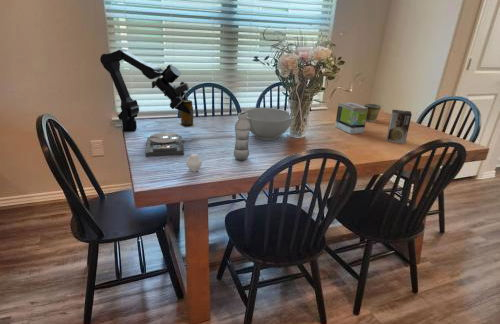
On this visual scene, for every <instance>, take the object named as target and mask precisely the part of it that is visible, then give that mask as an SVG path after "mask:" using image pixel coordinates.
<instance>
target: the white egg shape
mask: <svg viewBox="0 0 500 324" xmlns="http://www.w3.org/2000/svg"><path fill="white" fill-rule="evenodd" d="M185 163H186V165H187V166H186V167H187V168H188V170H189V171H190V172H191V171H193V172H192V173H197V172H198V171H199V170H200V169H201V166H202V164H203V160H202V159H201V158H200V157H199V155H198V154H197V153H192V154H190V155H189V156H188V159H187V160H186V162H185ZM196 171H197V172H196Z"/></svg>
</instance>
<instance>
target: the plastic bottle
mask: <svg viewBox="0 0 500 324" xmlns="http://www.w3.org/2000/svg"><path fill="white" fill-rule="evenodd" d="M237 118H238V120H237V121H236V122H235V123H234V132H235V143H234V149H233V157H234V158H235V159H236V160H240V161H243V160H247V159H248V158H249V155H250V150H249V137H250V133H251V132H250V124H249V122H248V121H247V113H242V112H239V113H238V114H237Z"/></svg>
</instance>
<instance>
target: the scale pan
mask: <svg viewBox="0 0 500 324" xmlns="http://www.w3.org/2000/svg"><path fill="white" fill-rule="evenodd" d="M179 136H180V135H179V134H177V133H175V132H167V131H166V132H157V133H153V134H151V135H150V136H149V137H150V141H151V142H153V143H157V144H169V143H174V142H176V141H178V140H179Z"/></svg>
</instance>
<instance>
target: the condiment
mask: <svg viewBox="0 0 500 324" xmlns="http://www.w3.org/2000/svg"><path fill="white" fill-rule="evenodd" d="M184 104H185V105H186V107H187V108H188V109H189V110H190V112H191V113H190V114H188V113H185V112H183V111H180V122H178V123H177V125H180V126H182V127H184V128H192V127H198V126H199V125H198V124H196V123H194V107H193V101H192V100H190V99H186V100H184Z"/></svg>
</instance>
